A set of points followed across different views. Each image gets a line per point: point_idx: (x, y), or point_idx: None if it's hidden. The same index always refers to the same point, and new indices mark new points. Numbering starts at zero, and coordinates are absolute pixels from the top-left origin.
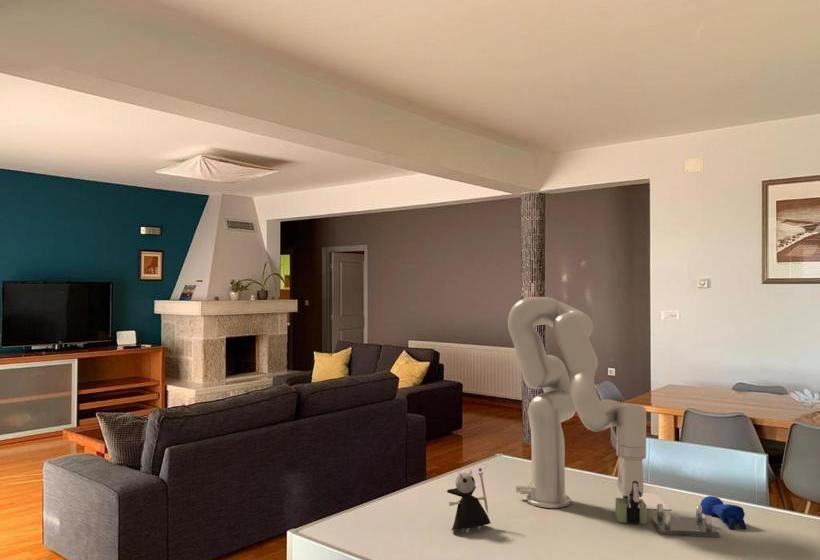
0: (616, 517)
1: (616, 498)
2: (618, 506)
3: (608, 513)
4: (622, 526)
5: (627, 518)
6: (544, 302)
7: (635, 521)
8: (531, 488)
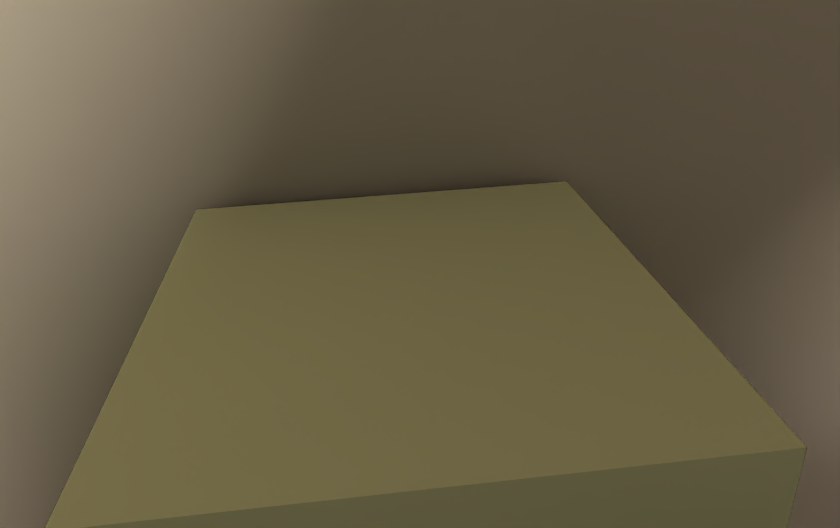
0: (451, 195)
1: (725, 476)
2: (130, 425)
3: (776, 49)
4: (6, 260)
5: None
6: None
7: None
8: None
